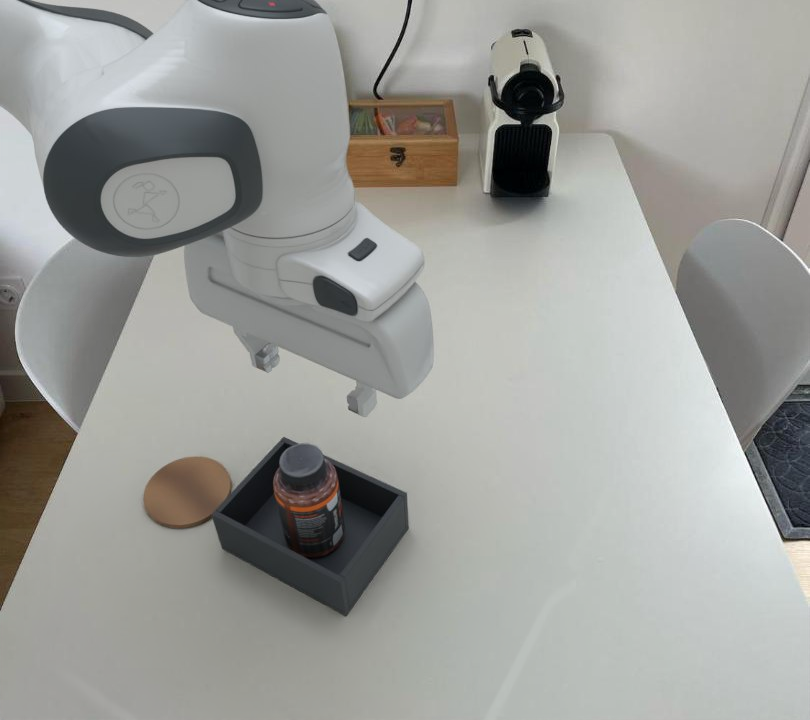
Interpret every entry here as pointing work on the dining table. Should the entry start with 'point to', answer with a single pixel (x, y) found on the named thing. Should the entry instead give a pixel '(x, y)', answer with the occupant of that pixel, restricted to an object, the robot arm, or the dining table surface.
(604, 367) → the dining table surface
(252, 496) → the bin
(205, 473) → the coaster
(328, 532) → the supplement bottle
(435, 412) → the dining table surface
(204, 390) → the dining table surface
